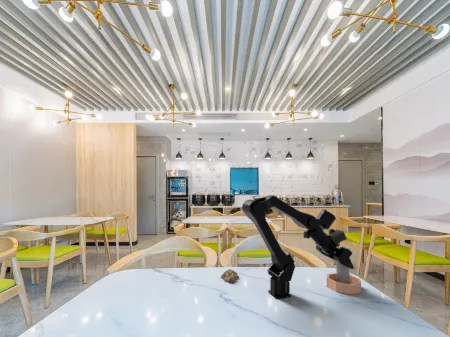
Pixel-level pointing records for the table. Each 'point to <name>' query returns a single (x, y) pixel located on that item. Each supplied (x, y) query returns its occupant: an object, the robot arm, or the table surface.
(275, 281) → the robot arm
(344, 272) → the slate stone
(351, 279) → the terracotta bowl
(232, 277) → the mineral rock
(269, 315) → the table surface
